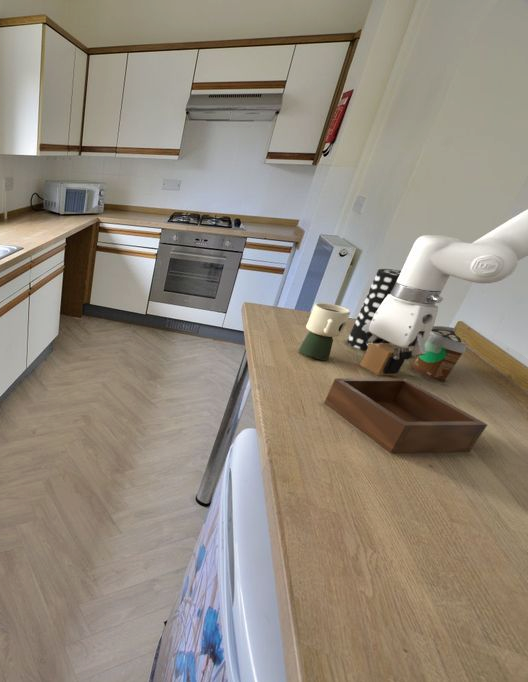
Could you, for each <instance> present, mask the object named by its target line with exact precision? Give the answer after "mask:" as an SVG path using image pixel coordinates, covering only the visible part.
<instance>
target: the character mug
mask: <svg viewBox="0 0 528 682" xmlns="http://www.w3.org/2000/svg"><path fill="white" fill-rule="evenodd" d="M350 314H351V310H350V309H348V308H347V307H344V306H341V305H338V304H334V303H330V302H316V303H314V304H313V308H312V310H311V312H310V315H309V318H308V320H307V323H306V326H305V329H306V330H307V331H309V332H308V333H307V334H306V336H305V338H304V340H303V341H302V343H301V344H300V347H299V349H298V351H299V353H301V354H302V355H305V356H307V357H310V358H312V359H318V360H322V361H327V360H329V358H330V355H331V351H332V347H333V342H334V339H333V337H335V338H337V337H339V336H341V335H342V333H343V331H344V329H345V326H346V325H347V321H348V319H349V317H350Z"/></svg>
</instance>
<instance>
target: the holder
mask: <svg viewBox="0 0 528 682" xmlns="http://www.w3.org/2000/svg"><path fill="white" fill-rule="evenodd" d="M324 404H325V405H326V406H328V407H329V408H330V409H331V410H333V411H334V412H335V413H337V414H338V415H339V416H341V417H342V418H343V419H345V420H346V421H347V422H349V423H350V424H351V425H353V427H355V428H356V429H358V430H359V431H361V433H363V434H365V435H366V436H367V437H368V438H370V439H371V440H372V441H374V442H375V443H376V444H378V445H379V446H380V447H382V448H383V449H384V450H385V451H387V452H388V453H390V454H412V453H413V454H414V453H415V454H416V453H419V454H421V453H470V452H471V450H472V449H473V447H474V446H475V444H476V443H477V441H479V438H480V437H481V435H482V434H483V432H484V431H485V430H486V428H487V427H488V424H487V423H485V422H484V421H482V420H480V419H479V418H476V417H475V416H473V415H471V414H469V413H468V412H465V411H464V410H462V409H460V408H459V407H457V406H456V405H453V404H451V403H449V402H448V401H446V400H444V399H442V398H440V397H438V396H437V395H436V394H433V393H431V392H430V391H428V390H426V389H424V388H423V387H420V386H419V385H417V384H415V383H414V382H411V381H410V380H408V379H406V378H404V377H403V378H402V377H401V378H395V377H393V378H391V377H390V378H387V377H386V378H385V377H384V378H381V377H380V378H375V377H374V378H364V377H363V378H362V377H361V378H360V377H359V378H357V377H355V378H354V377H353V378H351V377H350V378H344V377H343V378H341V377H340V378H339V377H338V378H334V380H333V382H332V384H331V387H330V388H329V391H328V393H327V395H326V398H325V400H324Z"/></svg>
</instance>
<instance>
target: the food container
mask: <svg viewBox="0 0 528 682" xmlns="http://www.w3.org/2000/svg"><path fill="white" fill-rule="evenodd" d="M456 331H457V328H456V327H450V326H441V325H434V326H433V328H432V331H431V333H430V335H429V338H428V340H427V342H426V343H425V349H426V354H425V355H421V356H415V360H414V361H413V365H412V369H413V370H414V371H415V372H417V373H418V374H420V375H422V376H424V377H427V378H429V379H432V380H435V381H438V382H442V383H445V382H446V380H447V379H448V377H449V375H450V374H451V372H452V370H453V369H454V367H455V366H456V364H457V363H458V361H459V360H460V358H461V356H462V355H463V354H465V351H467V348H468V345H469V344H468V343H465V342H462V340H461V339H462V338H461V337H460V336H458V335H457V334H456Z"/></svg>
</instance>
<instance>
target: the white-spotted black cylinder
mask: <svg viewBox="0 0 528 682" xmlns="http://www.w3.org/2000/svg"><path fill="white" fill-rule="evenodd" d="M401 271H402V270H398V269H390V268H379V269H377V272H376V274H375V276H374V279H373V281H372V283H371V285H370V288H369V290H368V292H367V294H366V297H365V299H364V302H363V304H362V306H361V308H360V309H359V310H360V311H359V313H358V315H357V318H356V320H355V322H354V324H353V327H352V329H351V331H350V333H349V335H348V338H347V340H346V342H347V344H348V345H350V346H351V347H353V348H356V349H358V350H360V351H364V352H366V350H367V347H368V345H367V344H366V343H367V341H368V340H367V337H366V333H365V330H364V328H363V326H364V325H365V324H367V323H369V322H371V321H372V319H373V317H374V315H375V313H376V311H377V310H378V308H379V306H380V305H381V303H382V302H383V300H384V299H385V298H386V297H387V295H388V294H391V292H392V290H393V288H394V285H395V283H396V282H397V279H398V277H399V275H400V273H401ZM383 343H388V344H390V345H391V343H390V342H388V341H386V340H385V341H384V342H383Z"/></svg>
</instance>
